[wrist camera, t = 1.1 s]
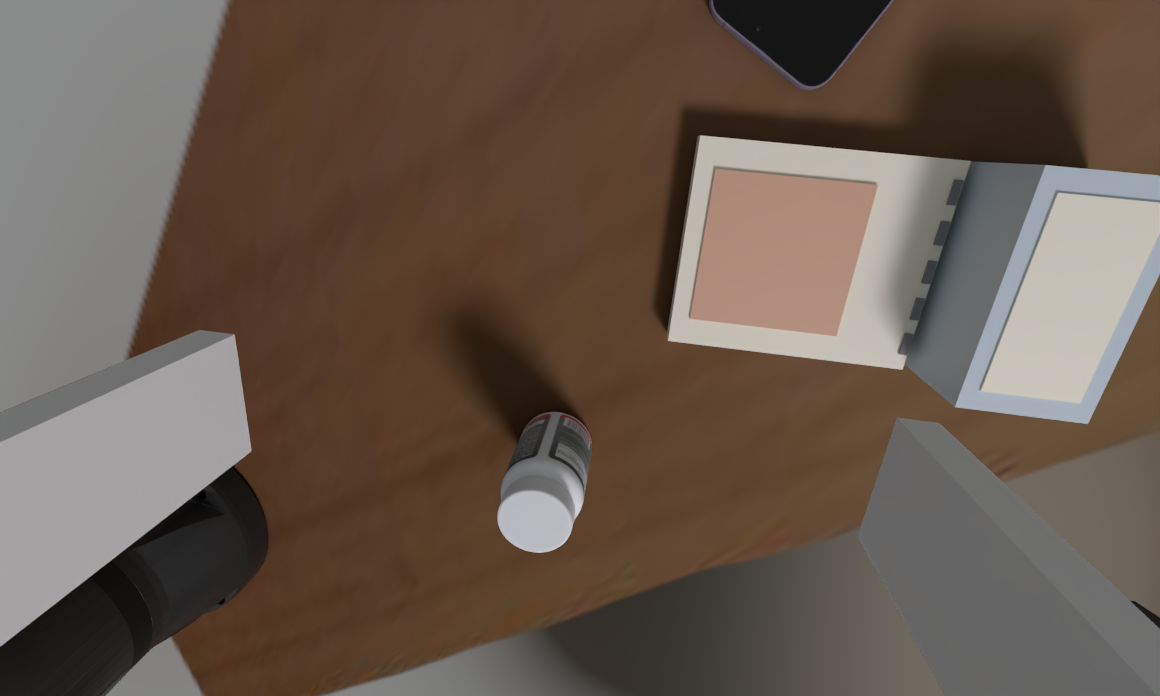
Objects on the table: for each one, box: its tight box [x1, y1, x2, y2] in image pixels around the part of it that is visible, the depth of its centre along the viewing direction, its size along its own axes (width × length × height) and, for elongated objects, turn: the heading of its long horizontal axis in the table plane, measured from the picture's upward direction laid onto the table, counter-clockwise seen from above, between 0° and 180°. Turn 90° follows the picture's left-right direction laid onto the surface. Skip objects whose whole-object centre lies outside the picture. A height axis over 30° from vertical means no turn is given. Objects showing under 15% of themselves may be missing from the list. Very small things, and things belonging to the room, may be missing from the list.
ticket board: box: [667, 135, 971, 370], centre depth 29 cm, size 13×11×2 cm
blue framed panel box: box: [904, 161, 1160, 424], centre depth 26 cm, size 6×11×6 cm, turn 175°
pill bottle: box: [497, 412, 592, 552], centre depth 32 cm, size 5×5×8 cm
